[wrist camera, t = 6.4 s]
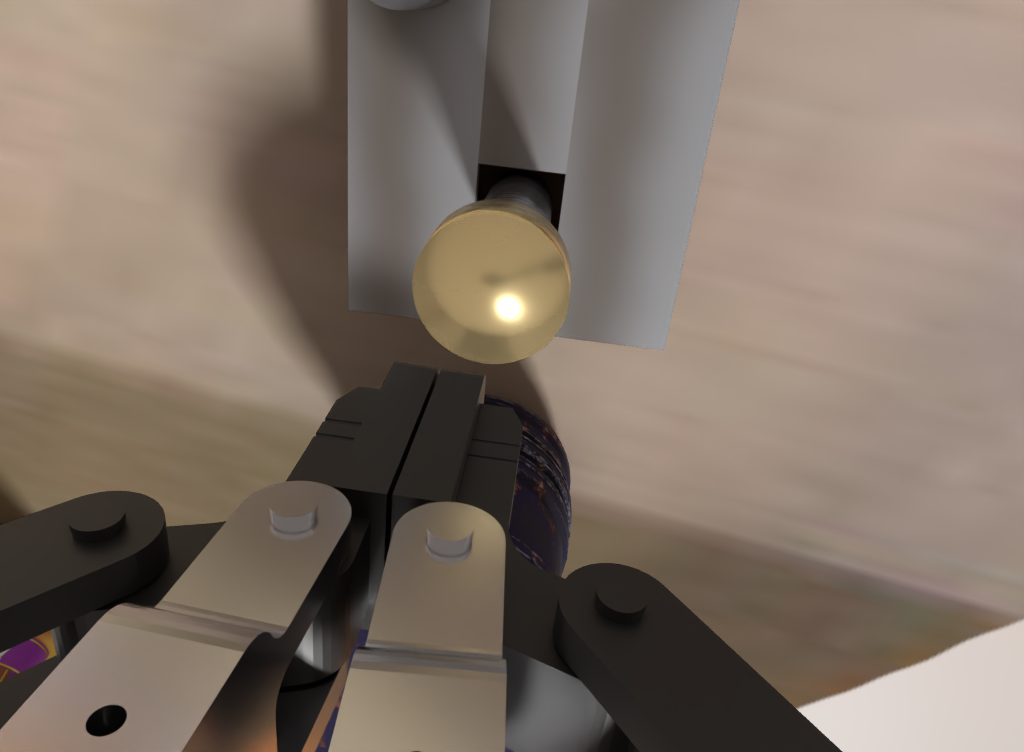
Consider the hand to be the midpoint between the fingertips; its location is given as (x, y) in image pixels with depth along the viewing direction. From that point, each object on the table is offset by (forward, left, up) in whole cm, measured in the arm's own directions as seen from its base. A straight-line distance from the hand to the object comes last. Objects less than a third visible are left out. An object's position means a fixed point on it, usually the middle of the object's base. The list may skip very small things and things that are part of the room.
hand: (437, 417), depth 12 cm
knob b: (0, 0, -16) cm, 16 cm away
